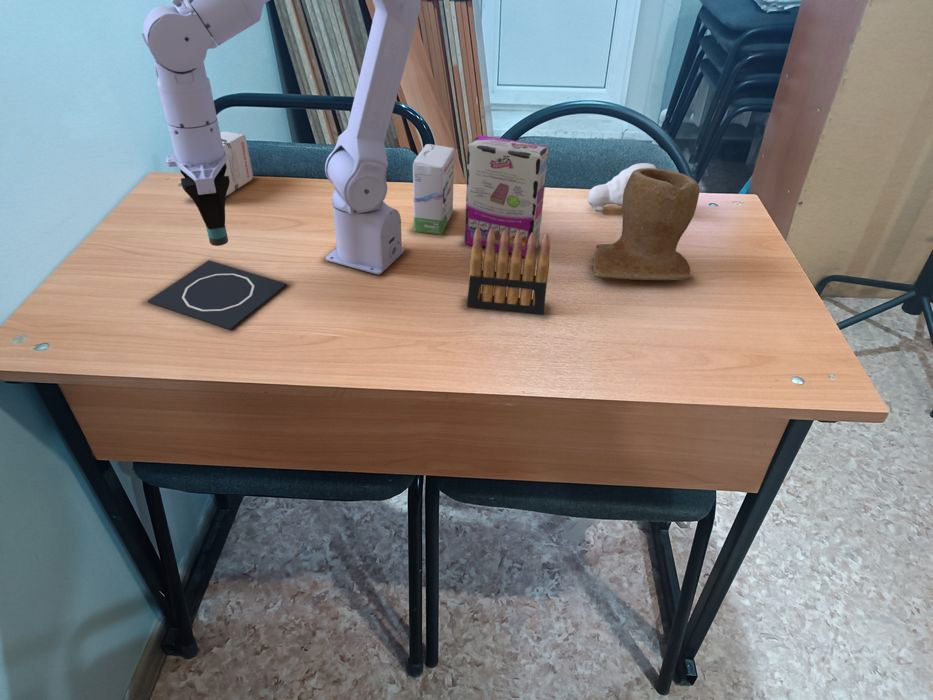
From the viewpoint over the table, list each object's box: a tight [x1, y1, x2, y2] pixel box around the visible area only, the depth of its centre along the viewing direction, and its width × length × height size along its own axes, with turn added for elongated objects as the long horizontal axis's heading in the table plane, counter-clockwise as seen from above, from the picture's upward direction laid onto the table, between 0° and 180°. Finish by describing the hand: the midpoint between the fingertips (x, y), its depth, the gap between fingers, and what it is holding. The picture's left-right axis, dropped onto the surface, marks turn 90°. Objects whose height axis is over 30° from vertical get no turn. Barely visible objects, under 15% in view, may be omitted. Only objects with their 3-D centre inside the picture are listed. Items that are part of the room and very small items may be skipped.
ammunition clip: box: [466, 227, 551, 316], centre depth 86 cm, size 11×2×12 cm, turn 83°
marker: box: [204, 223, 229, 247], centre depth 85 cm, size 2×2×9 cm
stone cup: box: [592, 168, 701, 281], centre depth 95 cm, size 15×12×15 cm
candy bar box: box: [464, 134, 550, 258], centre depth 99 cm, size 11×5×16 cm, turn 68°
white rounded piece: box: [587, 162, 657, 214], centre depth 112 cm, size 6×8×12 cm
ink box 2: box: [412, 143, 455, 235], centre depth 105 cm, size 8×5×12 cm, turn 168°
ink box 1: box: [189, 131, 254, 201], centre depth 113 cm, size 9×5×12 cm
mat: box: [147, 260, 288, 331], centre depth 90 cm, size 14×12×1 cm
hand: (215, 222), depth 86 cm, fingers closed on marker, 2 cm apart
